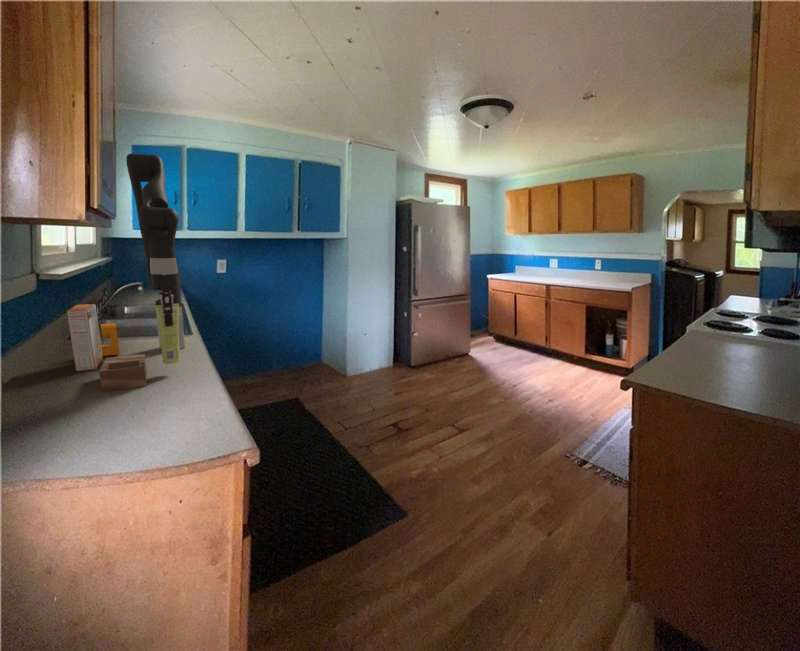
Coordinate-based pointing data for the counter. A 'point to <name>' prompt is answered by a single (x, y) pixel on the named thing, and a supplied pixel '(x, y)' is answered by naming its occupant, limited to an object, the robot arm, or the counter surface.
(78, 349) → the cracker box
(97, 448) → the counter surface
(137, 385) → the wooden box
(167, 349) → the tube
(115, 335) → the bracket
